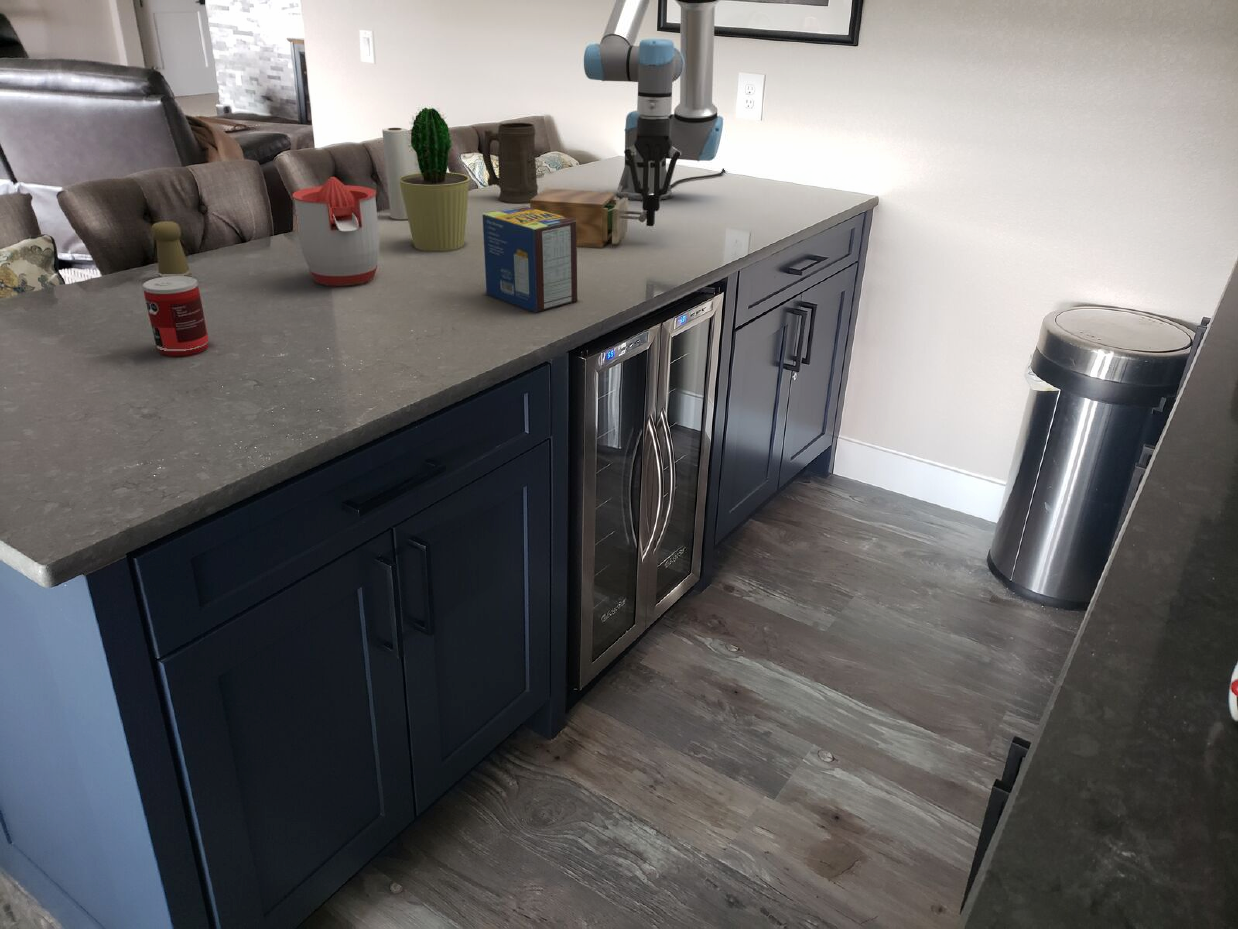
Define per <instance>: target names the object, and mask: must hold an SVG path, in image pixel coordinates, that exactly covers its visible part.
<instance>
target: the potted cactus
mask: <svg viewBox="0 0 1238 929" xmlns="http://www.w3.org/2000/svg"><path fill="white" fill-rule="evenodd" d="M418 110H419V111H418V113H417V114H415V116H414V115H411V118H412V119H411V122H409V125H410V128H409V130H411V140H410V141H411V144H412V145H411V146H412V147H413V148H412V149H413V150H415V152H416V157H417V160H418V164H419V165H418V164H417V163H416V164H417V165H418V166H419V168H420V173H415V174H409V175H405V176H402V177H400V178H399V181H400V187H401V191H402V195H403V200H404V204H405V208H406V213H407V217H408V219H407V221H408V224H409V229H410V234H411V238H412V243H413V246H414V248H415V249H418V250H420V251H427V252H447V251H454V250H459V249H461V248H462V247H464V245H465V238H466V227H467V225H466V224H467V215H468V214H467V213H468V201H469V191H470V190H469V189H470V181H471V177H470V176H469V175H467V174H464V173H458V172H449V171H448V170H450V169H451V168H450V167H449V163H450V162H449V157H450V158H453V155H452V154H451V153H450V150H451V151H454V150H453V149H452V147H453V145H452V141H454V140H455V138H453V135H452V134H453V133H455V131H452V132H449V131H450V130H449V129H450V127H449V125H448V123H447V122H446V121H445V119H446V118H447V116H445V114H444V113H441V110H440V108H438V107H437V108H434V107H431V106H430V107H429V108H427V107H425V106H424V107H418ZM444 116H445V117H444ZM408 133H409V132H408ZM409 134H410V133H409ZM451 138H453V139H451ZM407 139H408V138H407ZM408 141H409V140H408ZM409 143H410V142H409ZM411 146H408V147H411ZM412 149H411V150H412ZM415 162H416V161H415ZM451 162H454V161H452V160H451ZM414 166H415V165H414ZM416 168H417V167H416Z"/></svg>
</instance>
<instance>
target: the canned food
mask: <svg viewBox="0 0 1238 929" xmlns="http://www.w3.org/2000/svg"><path fill="white" fill-rule="evenodd" d="M142 291H143V296H144V300H145V305H146V308H147V312H148V317H149V321H150V325H151V330H152V334H153V339H154V343H155V346H156V345H157V346H159V347H162V348H167V349H190V348H195V347H197V346H202V345H203V344H205V343H206V342H208V339H209V334H208V329H207V324H206V318H205V313H204V308H203V302H202V298H201V292H200V287H199V283H198V280H197V279H196V278H194V277H192V278H191V277H186V276H168V277H160V278H159V277H156V278H152V279H149V280H147V281H145V282H144V283H143V284H142ZM209 342H210V341H209ZM209 342H208V343H207V344H206V345H204V346H202V347H199V348H196V349H192V350H186V351H164V350H160V349H158V348H157V347H156V349H157V351H158V352H159V354H161V355H164V356H166V357H167V356H169V357H187V356H194V355H197V354H200V353H202V352H204V351H206V350H207V349H208V348H209V344H210V343H209Z"/></svg>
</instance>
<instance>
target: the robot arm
mask: <svg viewBox="0 0 1238 929" xmlns="http://www.w3.org/2000/svg"><path fill="white" fill-rule="evenodd" d="M674 1H675V2H676V3H677V4H678V6H679V7H680V44H679V45H680V46H679V49H678V48H677V47H675V43H674V42H673V40H671V39H665V38H645V39H642V40H640V42H639V44H638V45H635V44H636V41H637V38H638V36H639V32H640V30H641V26H642V24H643V21H644V18H645V15H646V13H647V10H648V7H649V5H650V2H651V0H615V2H614V5H613V7H612V10H611V13H610V15H609V17H608V20H607V24H606V27H605V28H604V29H605V30H604V32H603V35H602V38H601V40H600V42H599V43H597V42H596V43H594V44H589V45H587V46H585V49H584V53H583V70H584V74H585V76H586V78H587V79H589V80H594V81H601V82H628V83H629V82H630V83H637V101H636V103H637V104H636V108H637V109H636V110H632V111H630V112H629V113H627V114H626V117H625V126H624V151H623V153H624V167H623V170H622V174H621V177H620V180H619V183H618V186H617V196H618V197H619V198H621V199H622V198H628V200H632V201H642V203H641V204H642V206H641V208H642V211H644V210H647V219H646V224H645V225H646V227H654V225H655V221H656V212H658V211H659V210H660V207H661V200H662V201H663V200H667V199H670V198H671V197H672V188H674V187H675V186H676V185H677V184H680V183H683V182H686V181H692V180H700V179H701V180H702V179H707V178H714V177H720V176H722V175H724V173H726V169H725V168H724V167H723V168H722V169H721V170H720V172H719V173H718V172H717V173H713V174H706V175H699V176H690V177H685V178H681V179H678V180H675V181H674V182H673V183H672V178H673V176H674V172H675V170H676V169H675V168H676V166H677V161H678V160H685V161H697V162H704V161H705V162H710V161H713V160H714V159H715V158H716V156H717V154H718V152H719V151H718V150H719V147H720V143H721V140H722V133H723V129H724V128H723V127H724V118H723V116H721V115H718V107H717V106H716V104H714V103H713V86H714V85H713V84H714V83H713V80H714V50H715V16H716V14H715V13H716V5H717V4H719V2H720V1H721V0H674ZM678 79H679V103H678V104H677V105H676V106H675V107H674V109H673V113H672V108H673V106H672V105H673V83H674V82H676V81H677V80H678ZM668 159H669V160H670V161H669V164H668V168H667V160H668ZM724 169H725V170H724ZM671 183H672V184H671Z"/></svg>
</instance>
